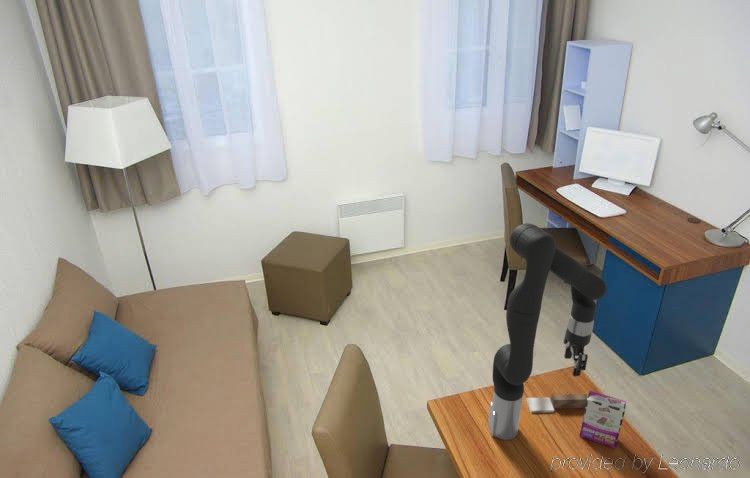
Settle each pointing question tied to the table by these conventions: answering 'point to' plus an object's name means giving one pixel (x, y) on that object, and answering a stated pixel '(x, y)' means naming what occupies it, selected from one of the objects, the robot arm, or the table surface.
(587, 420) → the candy bar box
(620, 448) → the table surface
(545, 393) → the table surface
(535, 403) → the turner
